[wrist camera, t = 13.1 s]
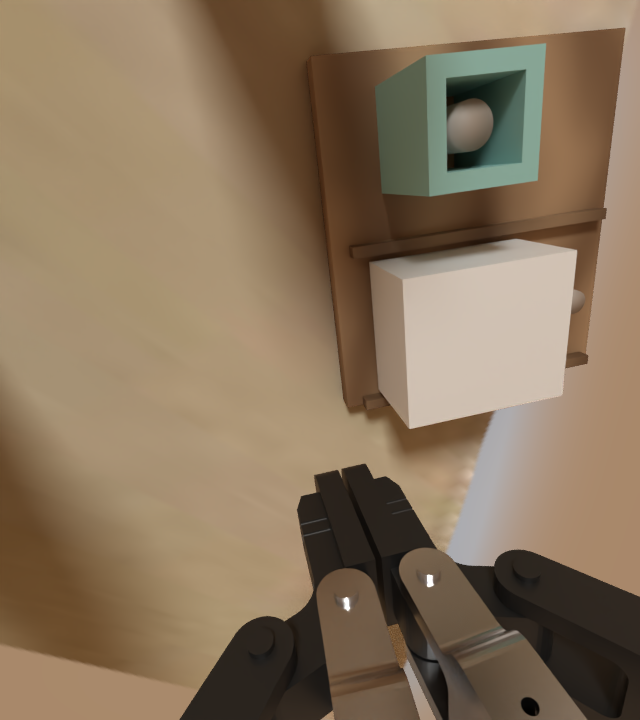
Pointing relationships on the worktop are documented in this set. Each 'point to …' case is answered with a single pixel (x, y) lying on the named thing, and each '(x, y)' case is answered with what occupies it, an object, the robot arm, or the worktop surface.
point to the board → (469, 208)
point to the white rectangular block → (471, 328)
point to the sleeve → (429, 126)
